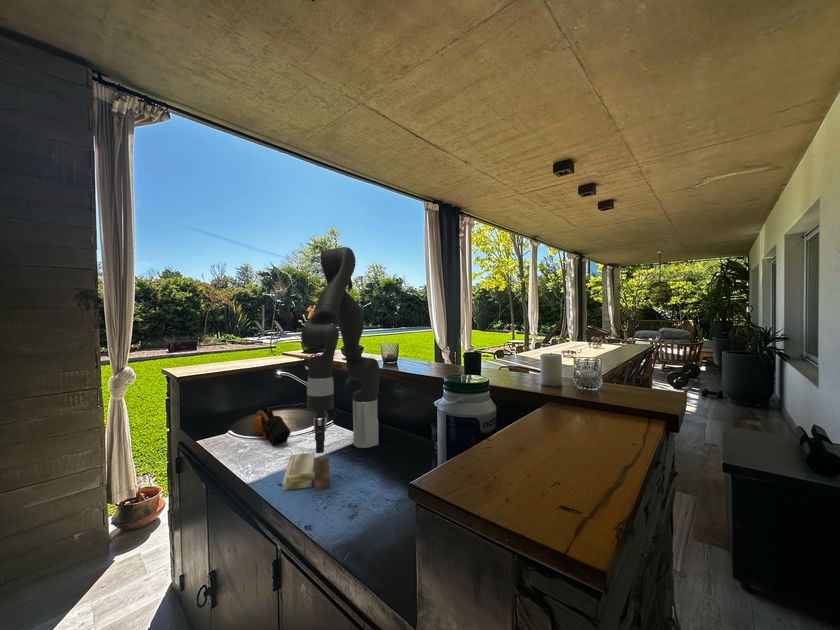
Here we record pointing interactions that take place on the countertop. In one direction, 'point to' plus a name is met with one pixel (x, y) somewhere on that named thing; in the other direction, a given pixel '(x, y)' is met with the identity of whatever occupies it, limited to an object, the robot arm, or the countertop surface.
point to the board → (299, 470)
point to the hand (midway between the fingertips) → (320, 446)
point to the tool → (270, 426)
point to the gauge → (315, 475)
